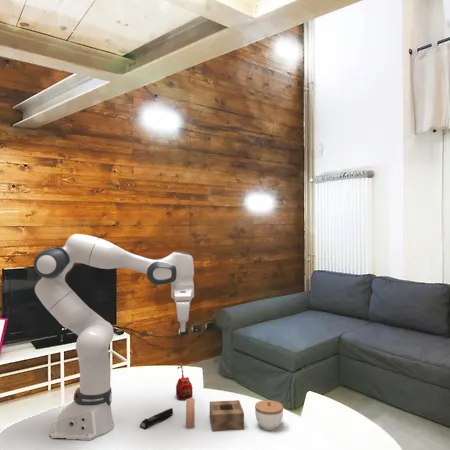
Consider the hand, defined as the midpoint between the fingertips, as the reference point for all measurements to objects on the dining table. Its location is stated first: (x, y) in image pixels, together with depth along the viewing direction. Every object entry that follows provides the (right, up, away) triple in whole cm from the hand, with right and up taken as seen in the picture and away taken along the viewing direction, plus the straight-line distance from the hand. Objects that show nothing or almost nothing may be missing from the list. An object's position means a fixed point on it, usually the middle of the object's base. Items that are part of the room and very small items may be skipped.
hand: (182, 328), depth 152 cm
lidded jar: (+33, -37, -2) cm, 50 cm away
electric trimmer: (-10, -37, +1) cm, 39 cm away
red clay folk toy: (-2, -38, +25) cm, 45 cm away
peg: (+3, -37, -3) cm, 37 cm away
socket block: (+17, -37, 0) cm, 40 cm away
